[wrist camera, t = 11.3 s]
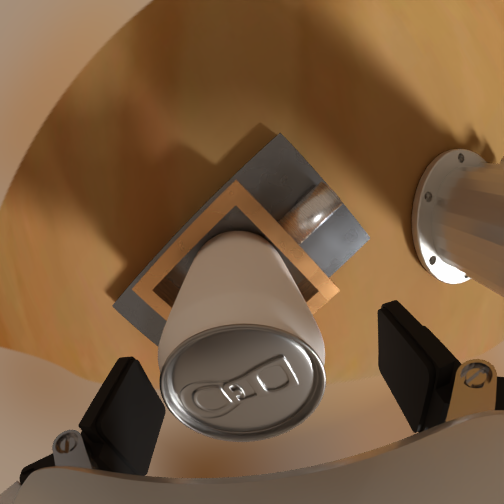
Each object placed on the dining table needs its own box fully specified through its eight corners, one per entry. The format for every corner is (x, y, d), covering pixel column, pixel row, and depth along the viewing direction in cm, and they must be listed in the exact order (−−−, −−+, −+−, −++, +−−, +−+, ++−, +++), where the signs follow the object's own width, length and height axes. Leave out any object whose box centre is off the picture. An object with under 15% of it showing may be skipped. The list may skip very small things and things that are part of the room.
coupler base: (277, 135, 19) (287, 125, 15) (363, 234, 21) (389, 248, 17) (117, 299, 22) (96, 323, 17) (204, 372, 24) (200, 404, 20)
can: (175, 254, 19) (109, 356, 8) (259, 212, 19) (298, 273, 7) (219, 327, 21) (210, 460, 10) (297, 291, 21) (356, 410, 9)
